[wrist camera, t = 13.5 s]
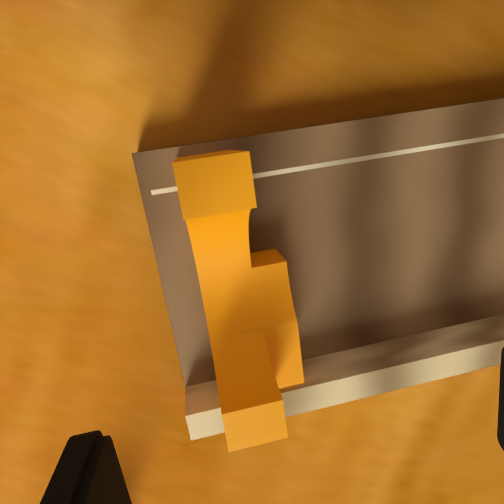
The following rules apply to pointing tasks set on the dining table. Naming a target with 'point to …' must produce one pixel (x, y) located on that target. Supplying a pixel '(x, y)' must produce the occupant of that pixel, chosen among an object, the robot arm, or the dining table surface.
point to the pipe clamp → (240, 297)
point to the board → (356, 251)
